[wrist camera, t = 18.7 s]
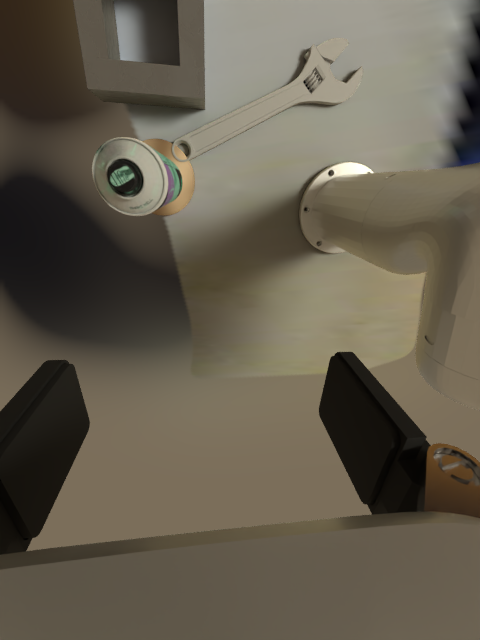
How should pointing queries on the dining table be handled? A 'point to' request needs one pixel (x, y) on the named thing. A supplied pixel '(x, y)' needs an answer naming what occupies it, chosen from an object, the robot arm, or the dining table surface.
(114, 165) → the spray can
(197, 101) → the block
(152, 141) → the coaster
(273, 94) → the adjustable wrench
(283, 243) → the dining table surface
